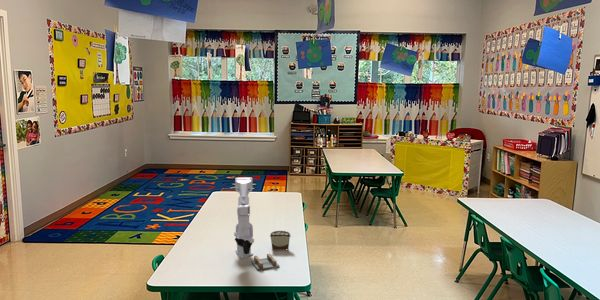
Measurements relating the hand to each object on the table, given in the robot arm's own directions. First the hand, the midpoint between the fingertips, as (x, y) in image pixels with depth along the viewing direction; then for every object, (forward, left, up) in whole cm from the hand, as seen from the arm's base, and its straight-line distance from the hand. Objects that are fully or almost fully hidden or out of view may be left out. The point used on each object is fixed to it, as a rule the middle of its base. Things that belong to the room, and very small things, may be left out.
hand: (244, 252), depth 233 cm
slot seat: (0, +12, -9) cm, 15 cm away
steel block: (0, 0, -2) cm, 2 cm away
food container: (-19, +28, -9) cm, 35 cm away
